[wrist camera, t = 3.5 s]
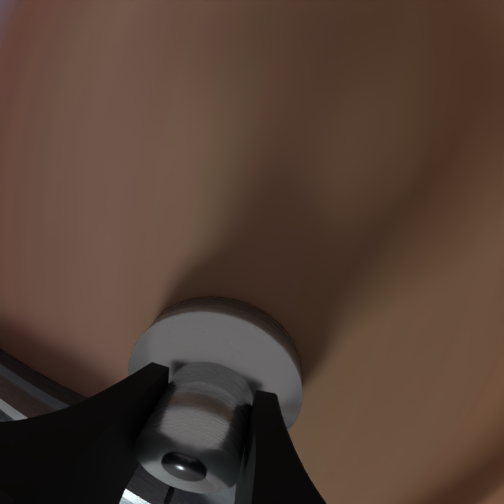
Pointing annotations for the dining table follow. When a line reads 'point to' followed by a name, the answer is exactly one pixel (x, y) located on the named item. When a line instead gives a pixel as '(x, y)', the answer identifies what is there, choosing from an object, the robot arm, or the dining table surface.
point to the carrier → (57, 397)
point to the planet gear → (211, 388)
